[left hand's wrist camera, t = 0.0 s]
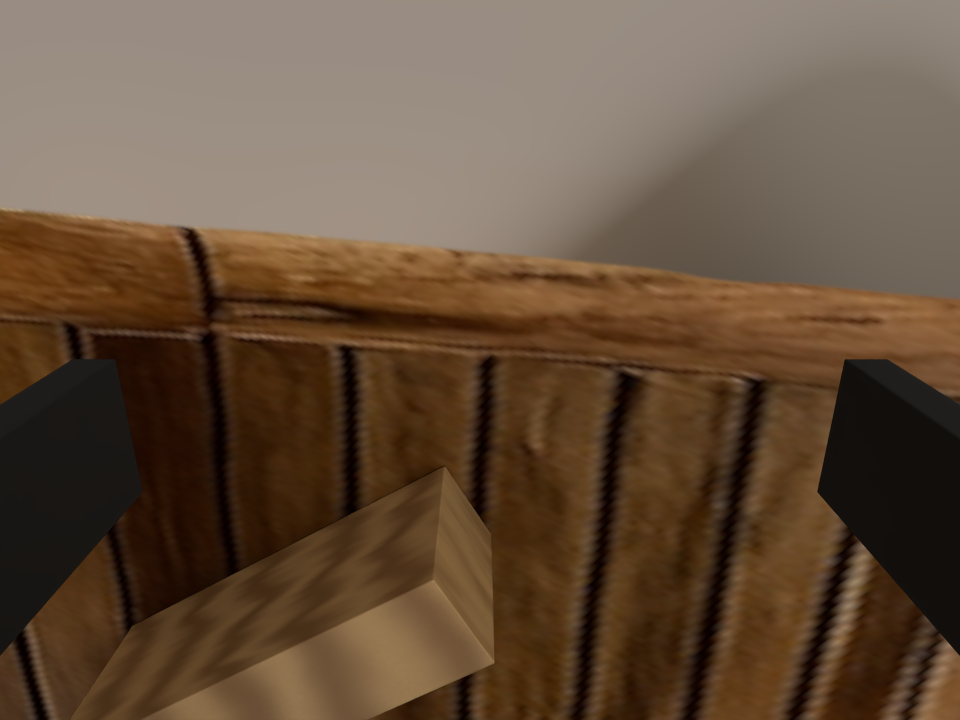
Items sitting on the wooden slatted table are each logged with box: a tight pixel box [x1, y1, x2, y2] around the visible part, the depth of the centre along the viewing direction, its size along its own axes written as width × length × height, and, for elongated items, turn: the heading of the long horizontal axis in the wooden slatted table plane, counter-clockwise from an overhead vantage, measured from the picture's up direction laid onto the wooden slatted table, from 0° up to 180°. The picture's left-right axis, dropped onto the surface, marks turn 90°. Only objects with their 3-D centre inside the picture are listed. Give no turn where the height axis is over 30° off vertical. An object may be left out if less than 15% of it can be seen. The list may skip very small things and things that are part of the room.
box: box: [70, 466, 494, 720], centre depth 42 cm, size 27×6×12 cm, turn 120°
